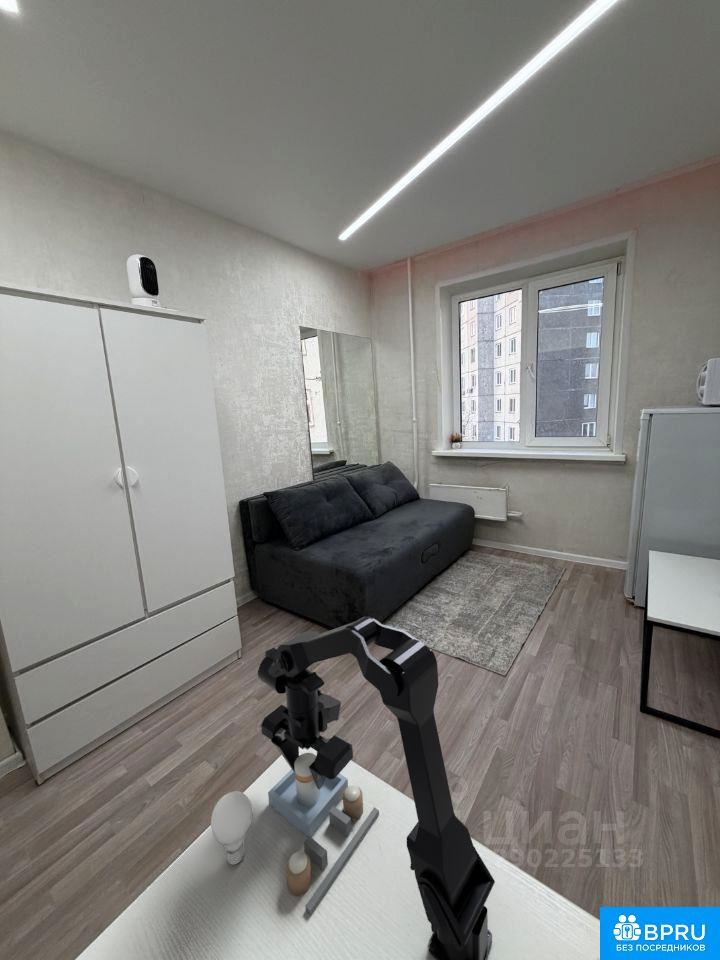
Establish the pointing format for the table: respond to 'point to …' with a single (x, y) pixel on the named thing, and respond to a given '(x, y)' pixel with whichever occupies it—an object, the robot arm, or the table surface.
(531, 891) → the table surface
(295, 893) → the cylinder
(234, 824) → the lightbulb
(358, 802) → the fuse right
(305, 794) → the cylinder
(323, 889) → the grey bar and blocks
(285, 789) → the tray
